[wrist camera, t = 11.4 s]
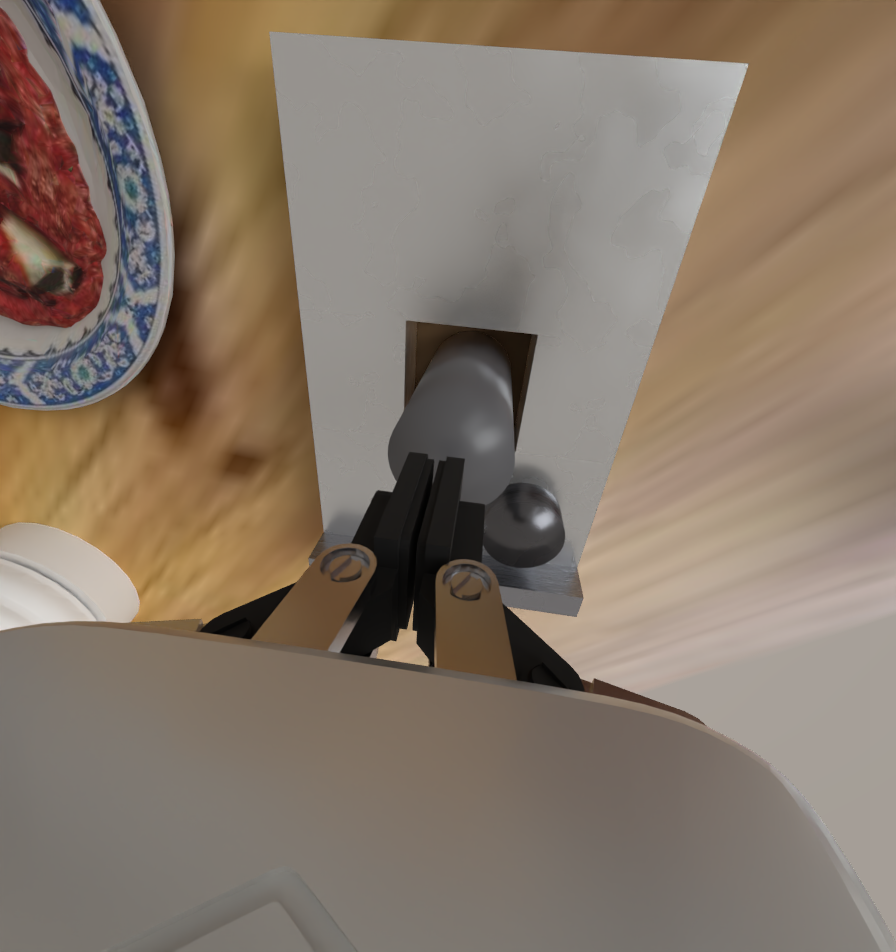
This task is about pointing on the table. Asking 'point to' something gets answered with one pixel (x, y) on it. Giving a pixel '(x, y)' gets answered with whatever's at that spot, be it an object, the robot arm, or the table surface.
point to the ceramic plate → (76, 210)
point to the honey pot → (59, 579)
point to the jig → (490, 256)
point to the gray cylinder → (462, 415)
